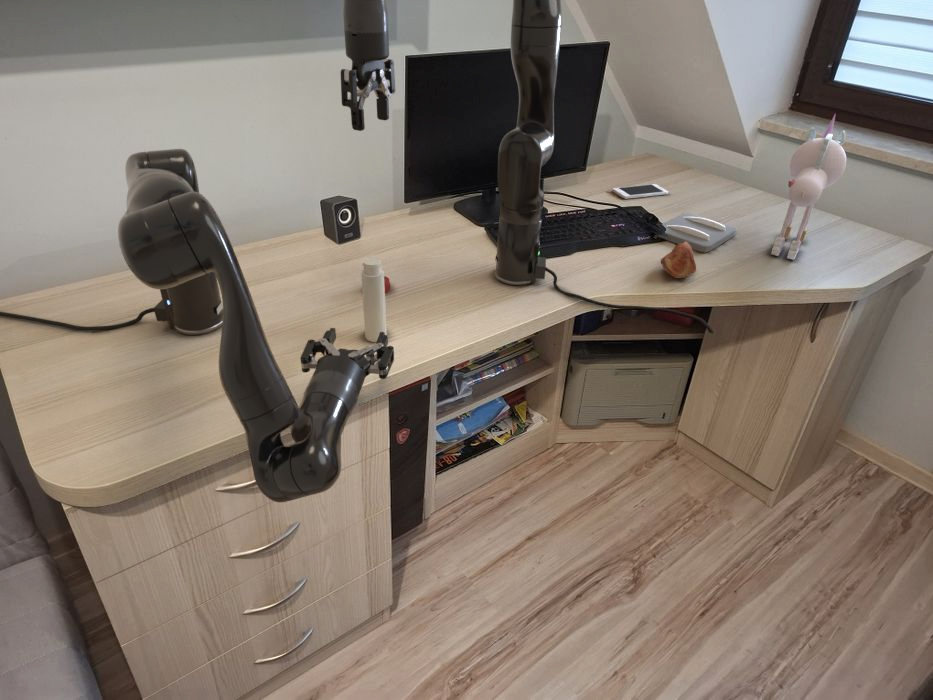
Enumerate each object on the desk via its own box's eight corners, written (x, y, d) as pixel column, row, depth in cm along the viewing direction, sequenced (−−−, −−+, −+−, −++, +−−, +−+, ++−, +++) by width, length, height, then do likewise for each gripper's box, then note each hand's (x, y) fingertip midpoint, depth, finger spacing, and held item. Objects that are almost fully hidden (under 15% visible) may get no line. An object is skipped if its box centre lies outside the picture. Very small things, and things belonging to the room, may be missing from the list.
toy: (826, 222, 178) (867, 110, 161) (806, 269, 152) (852, 142, 135) (779, 212, 183) (814, 103, 167) (751, 256, 157) (789, 132, 141)
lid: (378, 282, 140) (377, 273, 139) (394, 288, 138) (394, 279, 137) (363, 290, 137) (362, 280, 136) (379, 297, 135) (379, 287, 133)
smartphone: (611, 191, 194) (612, 187, 193) (654, 186, 199) (655, 183, 198) (624, 199, 188) (625, 196, 188) (668, 194, 193) (668, 191, 193)
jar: (365, 342, 120) (360, 266, 111) (365, 331, 123) (360, 256, 115) (387, 341, 121) (383, 265, 112) (386, 330, 124) (382, 255, 115)
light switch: (708, 241, 156) (653, 223, 165) (705, 253, 158) (650, 234, 167) (740, 223, 167) (687, 206, 176) (737, 234, 169) (684, 217, 178)
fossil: (669, 273, 140) (675, 228, 140) (641, 275, 147) (646, 232, 147) (707, 283, 147) (712, 240, 147) (678, 285, 154) (683, 244, 154)
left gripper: (378, 375, 93) (398, 318, 106) (283, 367, 94) (315, 312, 107) (380, 415, 97) (400, 355, 110) (289, 407, 98) (319, 349, 111)
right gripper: (369, 21, 116) (374, 114, 125) (323, 30, 105) (331, 130, 114) (405, 25, 113) (407, 119, 122) (362, 34, 103) (367, 136, 112)
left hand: (358, 334), depth 109 cm, fingers open, 8 cm apart
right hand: (371, 124), depth 118 cm, fingers open, 8 cm apart
